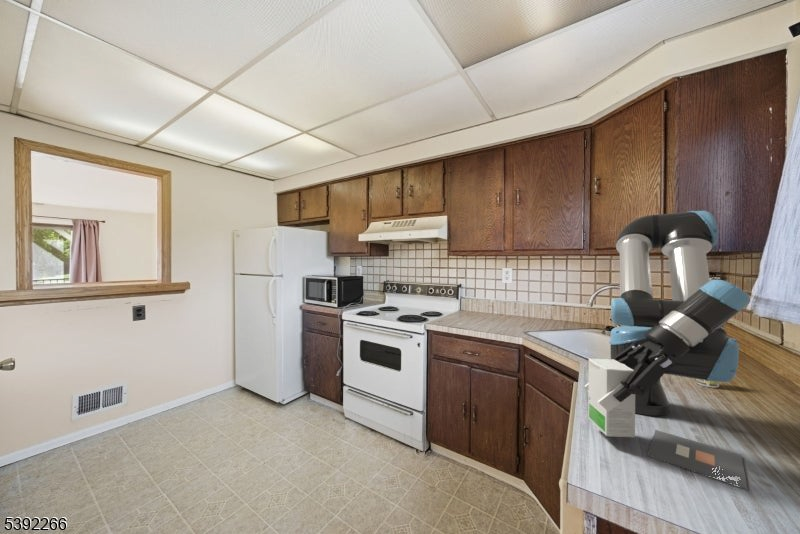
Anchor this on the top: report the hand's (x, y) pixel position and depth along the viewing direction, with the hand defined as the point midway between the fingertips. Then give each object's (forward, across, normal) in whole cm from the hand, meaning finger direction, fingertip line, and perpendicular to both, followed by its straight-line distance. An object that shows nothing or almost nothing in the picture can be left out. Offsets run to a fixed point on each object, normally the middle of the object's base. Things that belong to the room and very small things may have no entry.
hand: (595, 398), depth 72 cm
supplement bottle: (-27, +45, -40) cm, 66 cm away
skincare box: (+3, 0, -7) cm, 8 cm away
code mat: (-6, -3, -19) cm, 20 cm away
